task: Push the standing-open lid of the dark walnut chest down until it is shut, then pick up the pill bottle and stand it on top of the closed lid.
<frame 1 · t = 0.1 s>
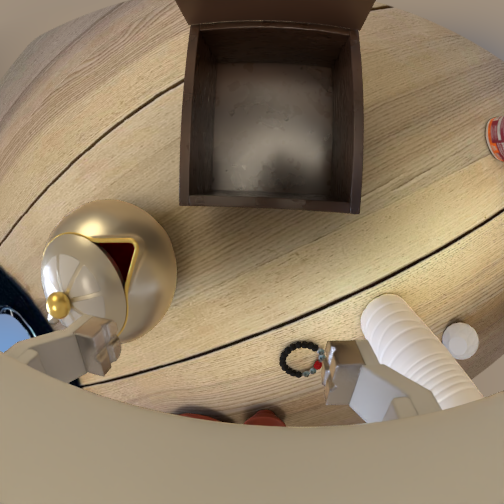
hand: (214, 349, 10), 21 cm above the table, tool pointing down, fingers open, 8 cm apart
pill bottle: (497, 139, 24), on the table
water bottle: (382, 323, 32), on the table
gemstone: (453, 331, 31), on the table
teapot: (134, 256, 32), on the table
bracelet: (301, 356, 33), on the table
chest: (273, 125, 27), on the table
pottery: (225, 423, 38), on the table
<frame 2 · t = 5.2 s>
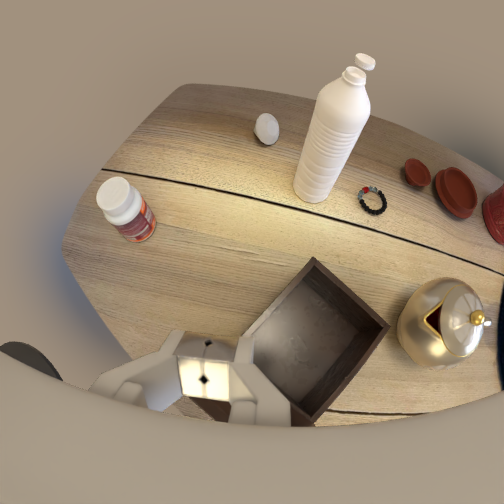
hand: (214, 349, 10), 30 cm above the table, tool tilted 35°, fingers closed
kitchen canister: (496, 221, 47), on the table
lid: (272, 416, 20), point 17 cm above the table, hinge at 95.0°
pill bottle: (139, 226, 44), on the table
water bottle: (313, 183, 47), on the table
gemstone: (265, 137, 50), on the table
teapot: (421, 328, 40), on the table
bracelet: (371, 202, 46), on the table
chest: (299, 342, 39), on the table
pottery: (436, 191, 48), on the table
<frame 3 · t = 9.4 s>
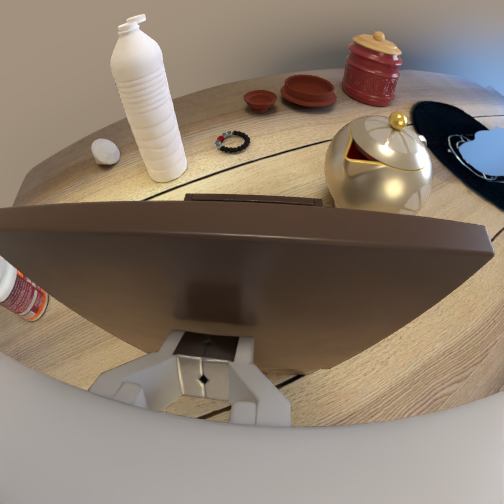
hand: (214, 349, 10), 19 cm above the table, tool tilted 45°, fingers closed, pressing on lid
kitchen canister: (366, 94, 55), on the table
lid: (220, 333, 12), point 17 cm above the table, hinge at 89.5°, touching gripper
pill bottle: (36, 303, 31), on the table
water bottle: (169, 165, 43), on the table
gemstone: (109, 162, 45), on the table
teapot: (369, 207, 37), on the table
bracelet: (233, 144, 45), on the table
chest: (249, 302, 31), on the table
pottery: (290, 104, 51), on the table
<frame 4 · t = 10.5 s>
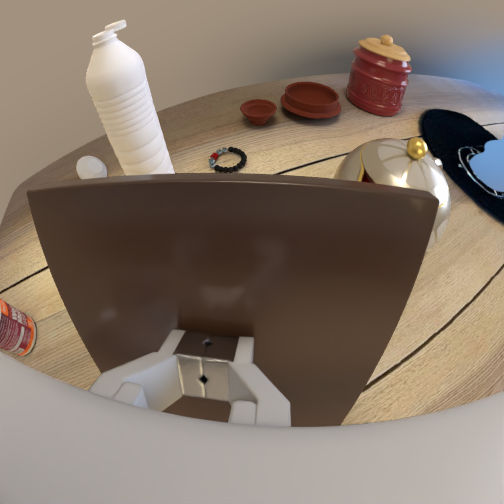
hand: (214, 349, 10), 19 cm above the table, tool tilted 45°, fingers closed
kitchen canister: (372, 102, 52), on the table
lid: (218, 367, 11), point 16 cm above the table, hinge at 60.7°, touching gripper
pill bottle: (25, 336, 28), on the table
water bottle: (158, 186, 40), on the table
gemstone: (96, 181, 41), on the table
teapot: (377, 236, 34), on the table
bracelet: (228, 162, 41), on the table
pottery: (291, 115, 48), on the table
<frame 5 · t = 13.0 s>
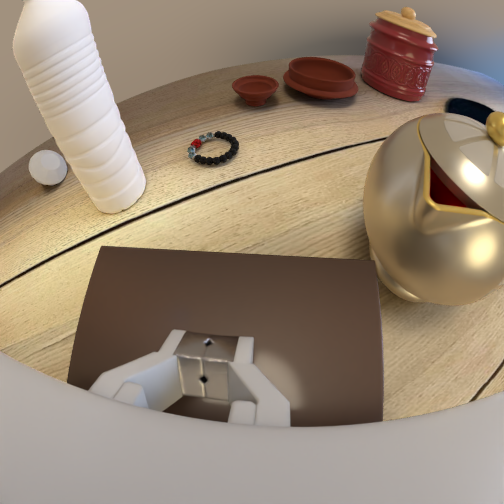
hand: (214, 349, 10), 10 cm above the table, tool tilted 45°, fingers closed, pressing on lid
kitchen canister: (391, 86, 41), on the table
lid: (208, 441, 9), point 9 cm above the table, hinge at 0.0°, touching gripper
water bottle: (122, 185, 29), on the table
gemstone: (54, 180, 30), on the table
teapot: (417, 253, 23), on the table
bracelet: (214, 151, 30), on the table
pottery: (297, 95, 37), on the table
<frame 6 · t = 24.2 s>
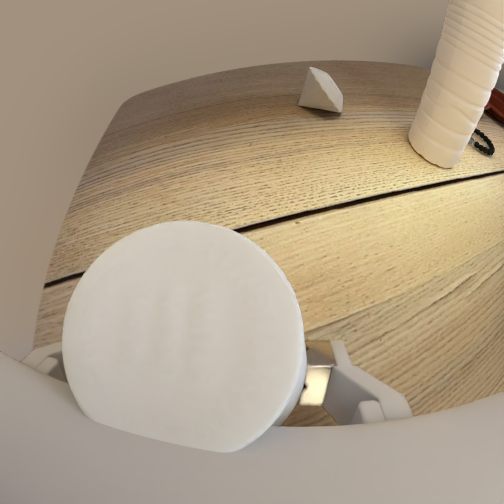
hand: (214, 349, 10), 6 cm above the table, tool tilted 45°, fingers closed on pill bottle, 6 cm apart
pill bottle: (231, 377, 15), on the table, touching gripper
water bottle: (428, 143, 25), on the table
gemstone: (320, 108, 28), on the table
bracelet: (477, 143, 26), on the table
pottery: (486, 113, 32), on the table
when the fingers open (16 cm above the table, at t = 33.0 s): pill bottle stays where it is, resting on lid.
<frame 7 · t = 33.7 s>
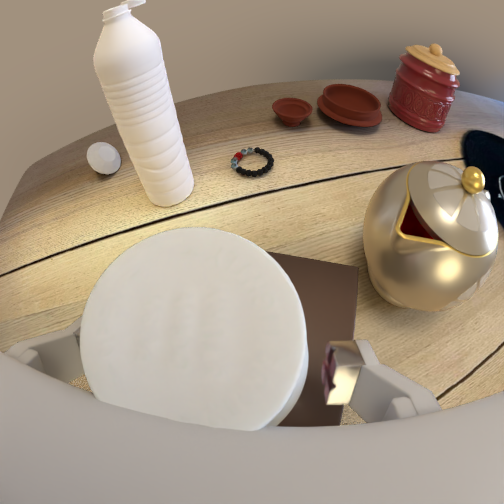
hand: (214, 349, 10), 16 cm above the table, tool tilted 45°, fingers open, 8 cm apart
kitchen canister: (414, 115, 45), on the table
lid: (235, 370, 16), point 9 cm above the table, hinge at -0.2°, touching chest, pill bottle
pill bottle: (235, 375, 15), point 9 cm above the table, touching lid
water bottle: (173, 183, 36), on the table
gemstone: (108, 169, 39), on the table
teapot: (408, 268, 29), on the table
bracelet: (252, 165, 37), on the table
pottery: (327, 119, 43), on the table
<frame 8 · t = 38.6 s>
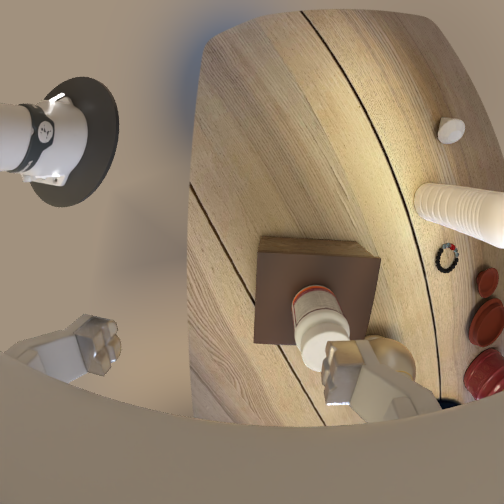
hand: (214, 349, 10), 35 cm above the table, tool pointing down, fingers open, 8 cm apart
kitchen canister: (480, 367, 49), on the table
lid: (316, 302, 37), point 9 cm above the table, hinge at -0.2°, touching chest, pill bottle
pill bottle: (313, 303, 37), point 9 cm above the table, touching lid
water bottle: (432, 200, 40), on the table
gemstone: (443, 131, 37), on the table
teapot: (369, 355, 49), on the table
bracelet: (445, 257, 43), on the table
chest: (306, 278, 46), on the table
pottery: (481, 303, 44), on the table
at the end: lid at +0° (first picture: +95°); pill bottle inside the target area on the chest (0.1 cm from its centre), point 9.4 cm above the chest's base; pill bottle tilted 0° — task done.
